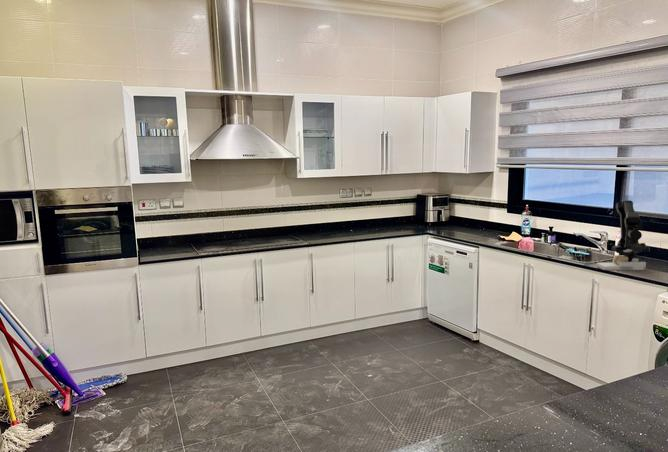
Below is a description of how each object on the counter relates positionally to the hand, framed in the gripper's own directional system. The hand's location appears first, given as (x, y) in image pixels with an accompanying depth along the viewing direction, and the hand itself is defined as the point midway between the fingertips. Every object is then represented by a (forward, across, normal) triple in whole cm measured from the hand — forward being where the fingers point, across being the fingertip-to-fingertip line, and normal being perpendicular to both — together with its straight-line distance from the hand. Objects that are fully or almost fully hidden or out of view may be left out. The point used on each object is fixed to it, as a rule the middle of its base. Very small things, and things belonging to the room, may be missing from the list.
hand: (629, 262), depth 270 cm
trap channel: (+3, -5, 0) cm, 6 cm away
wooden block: (+1, -5, 0) cm, 5 cm away
